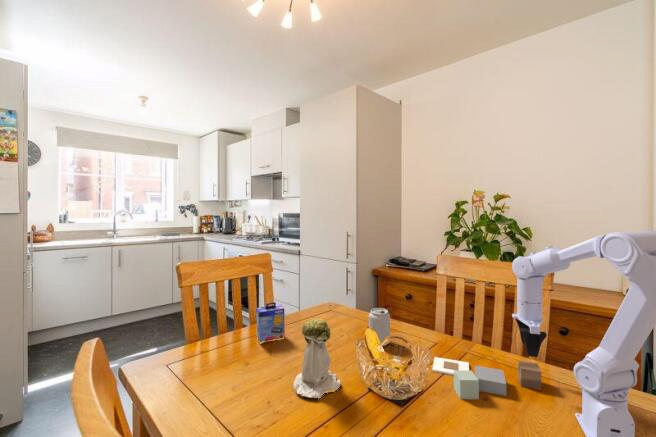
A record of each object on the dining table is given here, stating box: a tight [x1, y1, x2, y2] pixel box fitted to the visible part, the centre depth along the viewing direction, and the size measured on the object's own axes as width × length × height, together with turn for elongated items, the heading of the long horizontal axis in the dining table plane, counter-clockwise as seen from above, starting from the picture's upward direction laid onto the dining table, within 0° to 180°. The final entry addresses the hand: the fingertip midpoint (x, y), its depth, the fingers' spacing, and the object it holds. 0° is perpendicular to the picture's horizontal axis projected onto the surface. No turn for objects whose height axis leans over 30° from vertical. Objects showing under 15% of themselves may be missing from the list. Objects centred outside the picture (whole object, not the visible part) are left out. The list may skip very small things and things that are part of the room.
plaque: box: [431, 356, 470, 376], centre depth 93 cm, size 8×10×1 cm
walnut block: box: [517, 359, 542, 391], centre depth 85 cm, size 5×5×5 cm
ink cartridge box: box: [255, 301, 286, 342], centre depth 116 cm, size 10×6×14 cm, turn 115°
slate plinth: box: [474, 365, 507, 397], centre depth 84 cm, size 7×7×4 cm
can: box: [368, 307, 391, 343], centre depth 111 cm, size 8×8×12 cm
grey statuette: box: [292, 318, 341, 400], centre depth 86 cm, size 12×13×18 cm
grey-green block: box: [453, 370, 480, 400], centre depth 81 cm, size 5×5×5 cm
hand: (529, 349), depth 84 cm, fingers open, 7 cm apart
